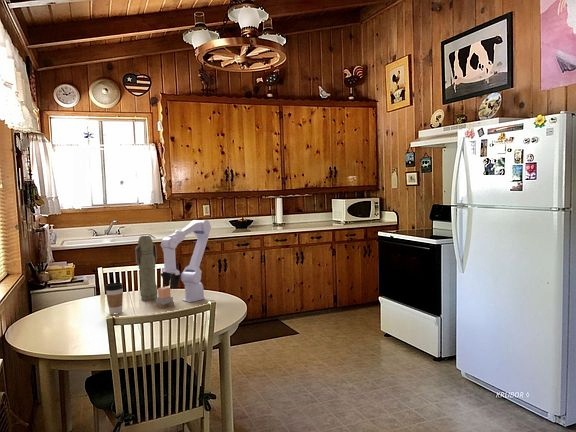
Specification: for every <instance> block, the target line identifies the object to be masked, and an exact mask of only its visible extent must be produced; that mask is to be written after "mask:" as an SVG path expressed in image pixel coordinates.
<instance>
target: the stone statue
mask: <svg viewBox="0 0 576 432" xmlns="http://www.w3.org/2000/svg"><path fill="white" fill-rule="evenodd" d="M137 242H138V243H137V245H136V246H135V248H134V253H135V254H134V256H135V264H136V265H138V269H139V276H140V277H139V278H140V286H139V291H140V294H139V295H140V298H141V299H140V300H141V301H144V302H149V301H156V298H158V286H157V282H156V263H157V262H158V255H157V252H158V251H157V245H156V244H155V243H153V242H154V241H153V239H152V236H150V235H141V236H139V237H138V241H137Z"/></svg>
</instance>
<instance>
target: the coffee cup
mask: <svg viewBox="0 0 576 432" xmlns="http://www.w3.org/2000/svg"><path fill="white" fill-rule="evenodd" d="M123 289H124V287H123V283H122V282H111V283H110V282H109V283H106V284H105V287H104V290H105V292H106V294H105V295H106V301H107V307H108V311H109V312H108V313H109V315H111V314H114V313H120V312H122V313H123ZM120 314H121V313H120Z"/></svg>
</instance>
